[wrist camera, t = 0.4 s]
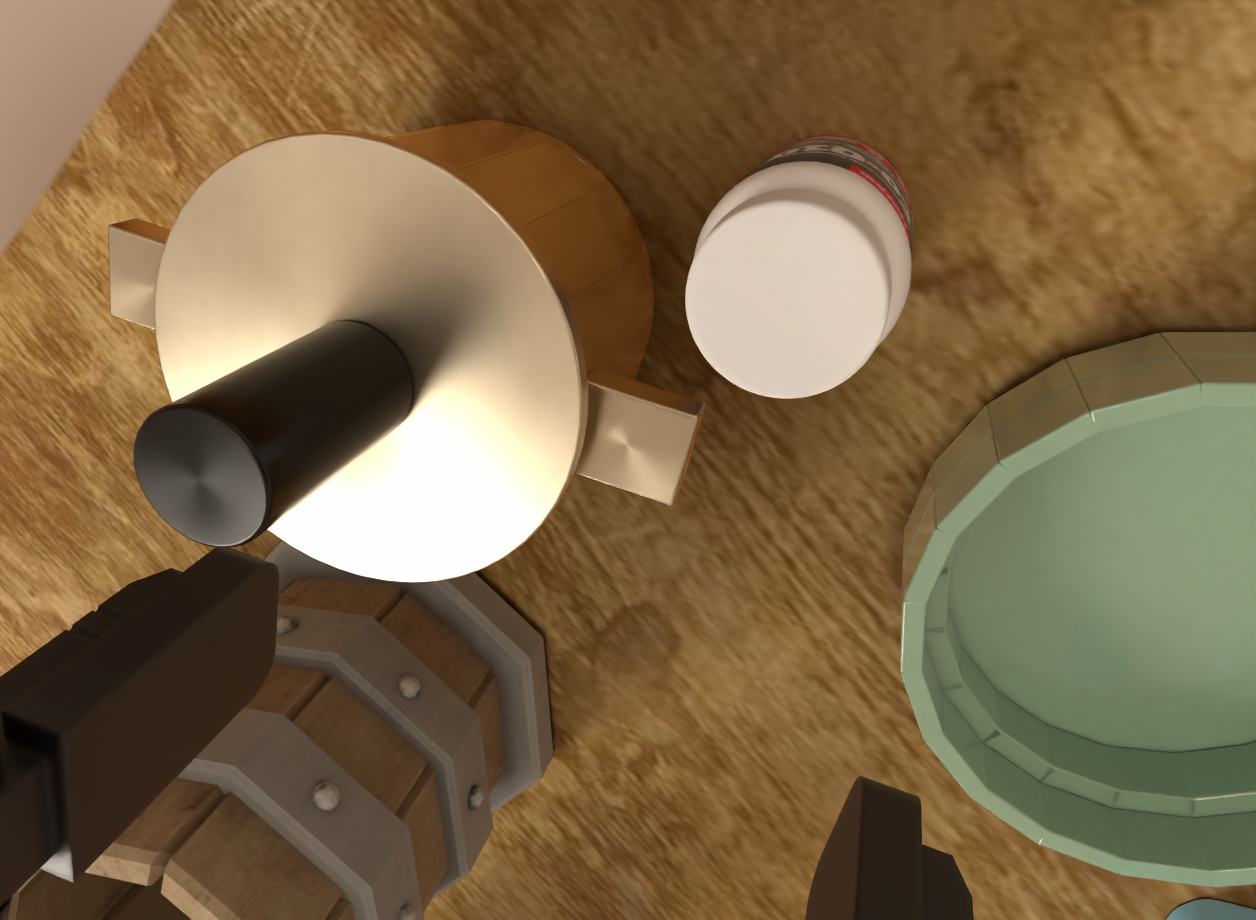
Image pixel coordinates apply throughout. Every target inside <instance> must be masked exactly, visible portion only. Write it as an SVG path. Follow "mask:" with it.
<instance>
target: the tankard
mask: <svg viewBox="0 0 1256 920" xmlns="http://www.w3.org/2000/svg"><path fill="white" fill-rule="evenodd" d="M265 561H268V562H271V563H273V564H275V565H276V566H277V568H278V571H279V595H278V614H277V634H276V651H275V657H274V661H273V665H272V667H271V670H270V672H269V675H268V677H267V679H266V681H265V682H264V684H263V686H262V687H261V689H260V690H259V692H258V693H257V694H256V695H255V696H254V698H253V699H252V700H251V701H250V702H249V703H248V704H247V705H246V706H245V707H244V708H243V709H242V710H241V711H240V712H239V713H238V714H237V715H236V716H235V717H234V718H233V719H232V720H231V721H230V722H229V723H228V724H227V725H226V727H225V728H224V729H223V730H222V731H221V732H220V733H219V734H218V735H217V736H216V737H215V738H214V739H213V740H212V741H211V742H210V743H209V744H208V745H207V746H206V747H205V748H204V749H203V750H202V751H201V752H200V753H199V754H198V755H197V756H196V757H195V758H194V760H193V761H192V762H191V763H190V764H189V765H188V766H187V767H186V768H185V769H184V770H183V771H182V772H181V773H180V774H179V775H178V776H177V777H176V778H175V779H174V780H173V781H172V782H171V783H170V784H169V785H168V786H167V787H166V788H165V789H164V790H163V791H162V792H161V794H160V795H159V796H158V797H157V798H156V799H155V800H154V801H153V802H152V803H151V804H150V805H149V806H148V807H147V808H146V809H145V810H144V811H143V812H142V813H141V814H140V815H139V816H138V817H137V818H136V819H135V820H134V821H133V822H132V823H131V824H130V825H129V827H128V828H127V829H126V830H125V831H124V832H123V833H122V834H121V835H120V836H119V837H118V838H117V839H116V840H115V841H114V842H113V843H112V844H111V845H110V846H109V847H108V848H107V849H106V850H105V851H104V852H103V853H102V854H101V855H100V856H99V857H98V858H97V860H96V861H95V862H94V863H93V864H92V865H91V866H90V867H89V868H88V869H87V870H86V871H85V872H84V873H83V874H82V875H81V876H80V877H79V878H78V879H77V880H76V881H75V882H74V883H73V882H70V881H68V880H65V879H63V878H61V877H58V876H56V875H54V874H51V873H49V872H47V871H44V870H42V869H39V870H38V871H37V872H36V873H35V874H34V875H33V876H32V877H31V878H30V879H29V880H28V881H27V882H26V883H25V884H24V885H23V886H22V887H21V888H20V889H19V890H18V894H19V905H18V911H17V918H16V920H424V914H423V913H424V911H425V909H426V908H427V906H428V904H429V902H430V900H431V899H433V898H434V897H436V896H437V895H439V894H440V893H442V892H443V891H445V890H446V889H448V888H449V887H451V886H452V885H453V884H455V883H456V882H458V881H459V880H461V879H462V878H464V877H465V876H467V875H468V874H469V872H470V870H471V869H472V867H473V865H474V863H475V861H476V859H477V857H478V855H479V853H480V851H481V849H482V848H483V846H484V844H485V842H486V840H487V838H488V836H489V834H490V832H491V830H492V828H493V821H492V813H494V812H495V811H496V810H498V809H499V808H501V807H502V806H503V805H505V804H506V803H508V802H509V801H510V800H512V799H513V798H514V797H516V796H517V795H519V794H520V793H521V792H523V791H524V790H526V789H527V788H528V787H530V786H531V785H533V784H534V783H535V782H537V781H538V780H540V779H541V778H542V776H543V774H544V772H545V770H546V768H547V766H548V764H549V762H550V760H551V758H552V756H553V745H552V733H551V721H550V710H549V698H548V687H547V675H546V664H545V652H544V641H543V637H542V636H541V635H540V634H539V633H538V632H537V631H536V630H535V629H534V628H533V627H532V626H531V625H530V624H528V623H527V622H526V621H525V620H524V619H523V618H522V617H521V616H520V615H519V614H518V613H517V612H516V611H515V610H514V609H513V608H512V607H511V606H509V605H508V604H507V603H506V602H505V601H504V600H503V599H502V598H501V597H500V596H499V595H498V594H497V593H496V592H495V591H494V590H493V589H491V588H490V587H489V586H488V585H487V584H486V583H485V582H484V581H483V580H482V579H481V578H480V577H479V576H478V575H477V574H476V573H475V572H473V573H471V574H468V575H465V576H462V577H457V578H452V579H447V580H442V581H436V582H421V583H406V582H390V581H383V580H378V579H373V578H367V577H362V576H359V575H356V574H353V573H349V572H346V571H343V570H340V569H337V568H335V567H332V566H330V565H328V564H325V563H323V562H321V561H318V560H316V559H314V558H312V557H310V556H308V555H306V554H305V553H303V552H301V551H299V550H298V549H296V548H294V547H292V546H290V545H289V544H287V543H286V542H285V541H283V540H282V541H281V542H280V543H279V544H278V545H277V546H276V547H275V549H274V550H273V551H272V552H271V553H270V554H269V555H268V557H267V558H266V559H265Z"/></svg>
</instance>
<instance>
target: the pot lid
mask: <svg viewBox="0 0 1256 920" xmlns="http://www.w3.org/2000/svg"><path fill="white" fill-rule="evenodd" d="M154 317H155V334H156V342H157V348H158V354H159V359H160V365H161V369H162V372H163V376H164V379H165V382H166V386H167V389H168V393H169V395H170V398H171V400H172V403H170V404H168V405H166V406H164V407H162V408H160V409H158V410H156V411H155V412H153V413H152V414H151V415H150V416H148V418H147V419H146V420H145V421H144V422H143V424H142V426H141V427H140V429H139V431H138V433H137V436H136V439H135V444H134V454H133V455H134V466H135V471H136V475H137V478H138V481H139V484H140V486H141V488H142V490H143V492H144V494H145V496H146V498H147V499H148V501H149V502H150V504H151V505H152V507H153V508H154V509H155V511H156V512H157V513H158V514H159V515H160V516H161V517H162V518H163V520H164V521H165V522H166V523H168V524H169V525H170V526H171V527H172V528H174V529H175V530H176V531H178V532H179V533H181V534H182V535H184V536H186V537H187V538H189V539H191V540H193V541H196V542H198V543H201V544H204V545H207V546H212V547H221V546H225V547H236V546H241V545H244V544H246V543H249V542H251V541H252V540H254V539H255V538H257V537H258V536H259V535H261V534H262V533H263V532H265V531H266V530H269V531H270V532H272V533H273V534H275V535H276V536H277V537H279V538H280V539H282V540H283V541H285V542H286V543H287V544H289V545H290V546H292V547H294V548H296V549H298V550H299V551H301V552H303V553H305V554H306V555H308V556H310V557H312V558H314V559H316V560H318V561H321V562H323V563H325V564H328V565H330V566H332V567H335V568H337V569H340V570H343V571H346V572H349V573H353V574H356V575H359V576H362V577H367V578H373V579H378V580H383V581H390V582H406V583H421V582H436V581H442V580H447V579H452V578H457V577H462V576H465V575H468V574H471V573H473V572H476V571H479V570H482V569H484V568H487V567H489V566H490V565H492V564H494V563H496V562H498V561H500V560H502V559H503V558H505V557H507V556H508V555H510V554H511V553H512V552H514V551H515V550H516V549H518V548H519V547H520V546H522V545H523V544H524V543H525V542H527V541H528V540H529V539H530V538H531V536H532V535H533V534H534V533H535V532H536V531H537V530H538V529H539V528H540V527H541V526H542V525H543V524H544V523H545V521H546V520H547V519H548V517H549V516H550V514H551V513H552V511H553V510H554V509H555V507H556V506H557V504H558V503H559V501H560V500H561V499H562V497H563V496H564V493H565V491H566V489H567V487H568V485H569V483H570V481H571V479H572V477H573V475H574V473H575V470H576V467H577V464H578V460H579V457H580V454H581V451H582V448H583V443H584V437H585V430H586V424H587V416H588V383H587V374H586V365H585V357H584V353H583V348H582V344H581V340H580V336H579V332H578V328H577V325H576V322H575V319H574V317H573V314H572V311H571V309H570V306H569V303H568V301H567V298H566V295H565V293H564V291H563V289H562V287H561V286H560V284H559V282H558V280H557V278H556V276H555V274H554V272H553V270H552V268H551V266H550V264H549V263H548V261H547V260H546V259H545V257H544V256H543V254H542V253H541V251H540V250H539V248H538V247H537V245H536V244H535V242H534V241H533V239H532V238H531V236H530V235H529V234H528V233H527V232H526V231H525V229H524V228H523V227H522V226H521V225H520V224H519V222H518V221H517V220H516V219H515V218H514V217H513V216H512V214H511V213H510V212H509V211H508V210H507V209H506V208H505V207H504V206H503V205H502V204H501V203H499V202H498V201H497V200H496V199H495V198H494V197H493V196H492V195H491V194H490V193H489V192H487V191H486V190H485V189H484V188H483V187H482V186H481V185H479V184H478V183H476V182H475V181H473V180H472V179H471V178H469V177H468V176H466V175H465V174H464V173H462V172H461V171H459V170H458V169H457V168H455V167H454V166H452V165H450V164H448V163H446V162H444V161H442V160H441V159H439V158H437V157H435V156H433V155H431V154H429V153H428V152H426V151H424V150H421V149H418V148H416V147H413V146H410V145H408V144H405V143H402V142H400V141H397V140H394V139H390V138H386V137H381V136H377V135H372V134H368V133H364V132H351V131H338V130H328V131H316V132H304V133H298V134H292V135H288V136H284V137H280V138H276V139H272V140H268V141H265V142H263V143H260V144H258V145H256V146H254V147H251V148H249V149H247V150H245V151H242V152H240V153H239V154H237V155H236V156H234V157H233V158H231V159H230V160H228V161H227V162H225V163H224V164H222V165H221V166H219V167H218V168H217V169H216V170H215V171H214V172H212V173H211V174H210V175H209V176H208V177H207V178H206V179H205V180H204V181H203V182H202V183H201V184H200V185H199V186H198V187H197V188H196V190H195V191H194V192H193V194H192V195H191V196H190V198H189V199H188V200H187V202H186V203H185V204H184V206H183V207H182V209H181V211H180V213H179V214H178V216H177V218H176V220H175V222H174V224H173V226H172V228H171V230H170V232H169V235H168V237H167V240H166V243H165V246H164V249H163V252H162V255H161V259H160V264H159V269H158V274H157V279H156V287H155V303H154Z"/></svg>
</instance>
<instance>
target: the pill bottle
mask: <svg viewBox="0 0 1256 920" xmlns="http://www.w3.org/2000/svg"><path fill="white" fill-rule="evenodd" d="M912 235H913V214H912V207H911V202H910V198H909V194H908V192H907V189H906V187H905V184H904V183H903V181H902V179H901V177H900V176H899V174H898V173H897V171H896V170H895V169H894V167H893V166H892V165H891V164H890V163H889V162H888V161H887V160H886V159H885V158H884V157H883V156H882V155H880V154H879V153H878V152H876V151H875V150H873V149H872V148H870V147H868V146H867V145H865V144H863V143H860V142H858V141H855V140H852V139H848V138H844V137H837V136H818V137H811V138H806V139H802V140H799V141H796V142H793V143H791V144H788V145H786V146H784V147H782V148H781V149H779V150H777V151H775V152H774V153H772V154H771V155H770V156H768V157H767V158H766V159H765V160H763V161H762V162H761V164H759V165H758V166H757V167H756V168H755V169H754V170H753V171H752V172H751V173H749V174H748V175H746V176H745V177H744V178H743V179H741V180H740V181H738V182H737V183H736V184H735V185H734V187H733V188H732V189H731V190H730V191H729V192H728V193H727V194H726V195H725V196H724V197H723V198H722V199H721V200H720V201H719V202H718V204H717V205H716V206H715V207H714V209H713V210H712V212H711V213H710V215H709V217H708V218H707V220H706V222H705V224H704V226H703V228H702V231H701V233H700V235H699V238H698V242H697V245H696V249H695V254H694V260H693V262H692V265H691V267H690V271H689V274H688V279H687V284H686V293H685V304H686V313H687V319H688V323H689V327H690V331H691V333H692V336H693V339H694V341H695V343H696V345H697V346H698V348H699V349H700V351H701V353H702V354H703V356H704V357H705V358H706V360H707V361H708V362H709V363H710V364H711V366H712V367H713V368H714V369H715V370H716V371H717V372H719V373H720V374H721V375H722V376H723V377H725V378H726V379H727V380H729V381H730V382H732V383H733V384H735V385H737V386H738V387H741V388H743V389H745V390H747V391H749V392H752V393H755V394H758V395H762V396H767V397H773V398H802V397H808V396H812V395H816V394H819V393H822V392H824V391H827V390H830V389H832V388H834V387H835V386H837V385H839V384H841V383H842V382H844V381H846V380H847V379H848V378H850V377H851V376H852V375H853V374H855V373H856V372H857V371H858V370H859V369H860V368H861V367H862V366H863V365H864V364H865V363H866V362H867V360H868V359H869V358H870V356H871V355H872V354H873V352H874V351H875V349H876V347H877V346H879V344H880V343H881V342H882V341H883V340H884V339H885V338H886V337H887V335H888V334H889V333H890V331H891V330H892V328H893V327H894V325H895V324H896V322H897V320H898V318H899V316H900V314H901V312H902V310H903V308H904V305H905V302H906V299H907V296H908V293H909V288H910V283H911V274H912Z"/></svg>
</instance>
